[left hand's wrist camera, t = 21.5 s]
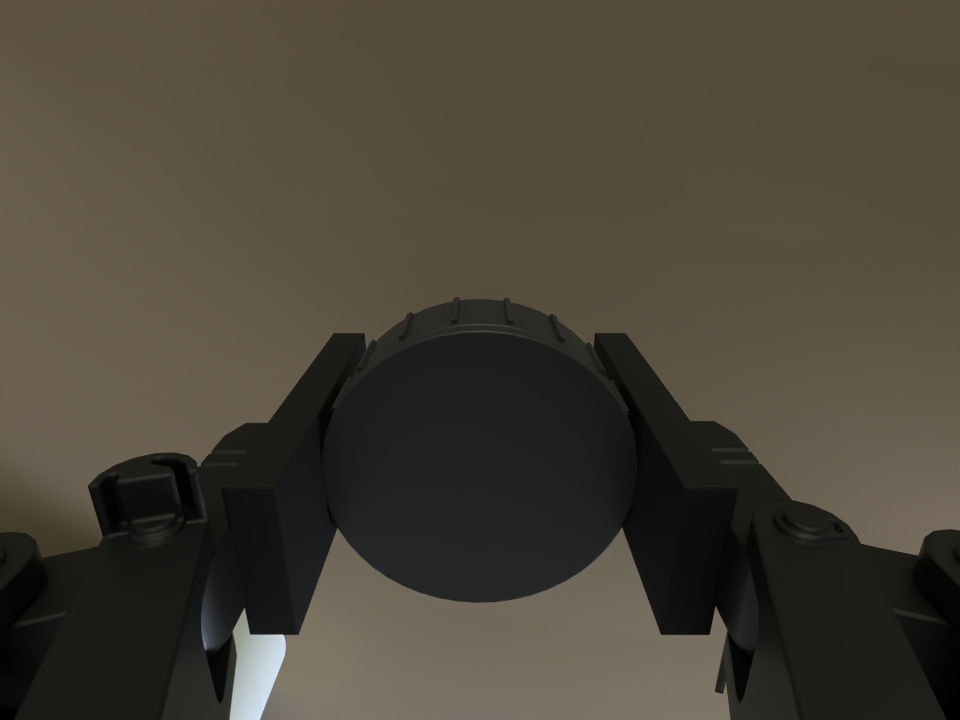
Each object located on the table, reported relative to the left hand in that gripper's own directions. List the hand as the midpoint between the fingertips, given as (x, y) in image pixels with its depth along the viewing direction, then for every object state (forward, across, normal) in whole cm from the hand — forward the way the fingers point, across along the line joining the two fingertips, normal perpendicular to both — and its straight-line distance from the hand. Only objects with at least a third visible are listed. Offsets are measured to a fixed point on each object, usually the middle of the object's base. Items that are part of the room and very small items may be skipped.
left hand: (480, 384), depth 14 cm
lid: (-4, 0, 0) cm, 4 cm away
